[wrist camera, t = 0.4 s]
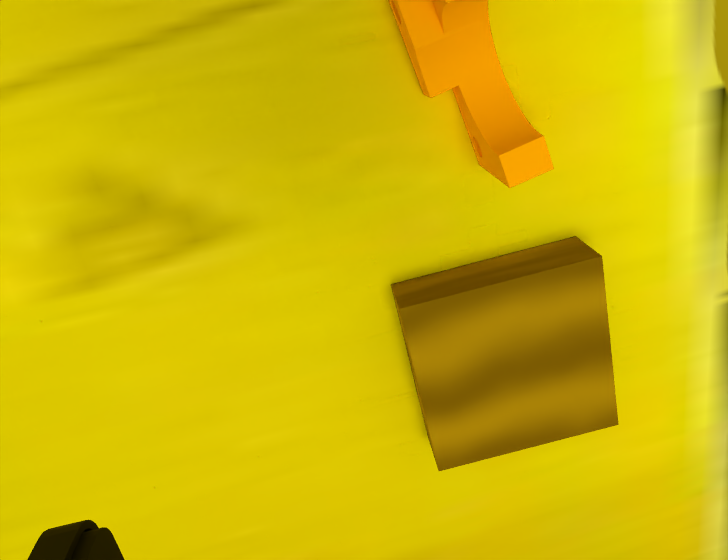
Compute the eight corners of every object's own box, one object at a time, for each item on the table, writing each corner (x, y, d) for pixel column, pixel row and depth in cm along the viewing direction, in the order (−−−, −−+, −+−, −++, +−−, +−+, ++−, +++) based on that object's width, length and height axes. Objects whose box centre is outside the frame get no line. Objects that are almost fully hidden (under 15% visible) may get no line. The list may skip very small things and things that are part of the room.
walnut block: (390, 284, 43) (399, 308, 39) (575, 236, 43) (601, 256, 39) (428, 436, 48) (438, 471, 44) (593, 393, 48) (618, 424, 44)
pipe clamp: (382, -14, 36) (399, -22, 30) (452, -46, 36) (483, -61, 30) (453, 175, 41) (480, 200, 35) (516, 147, 40) (553, 168, 34)
